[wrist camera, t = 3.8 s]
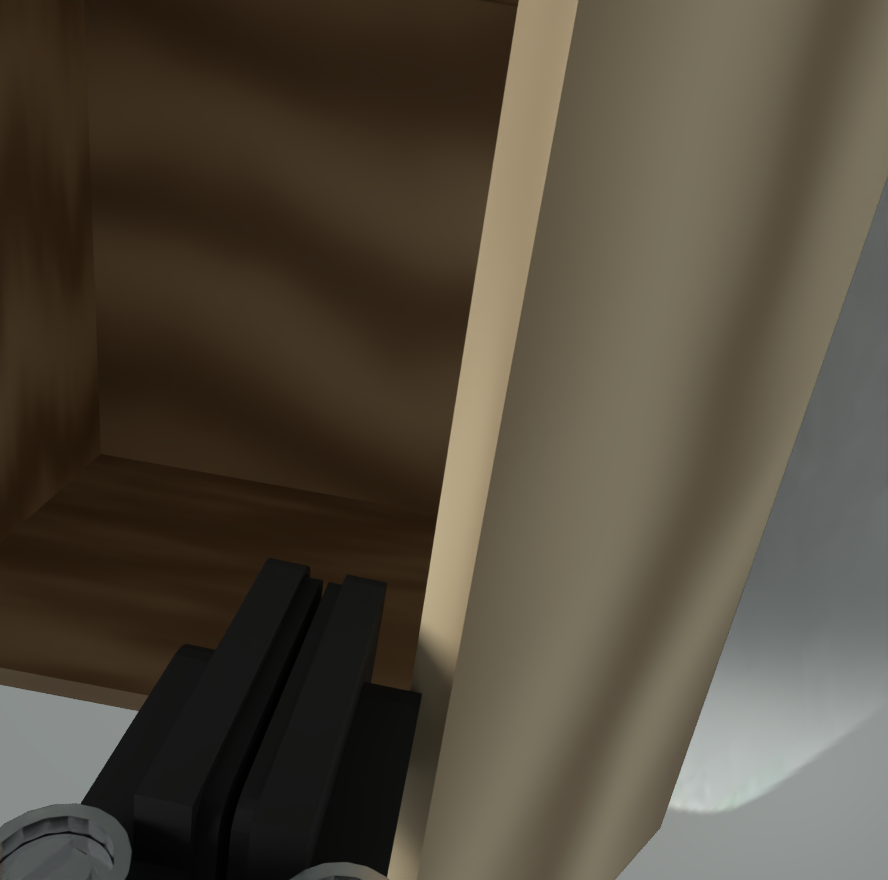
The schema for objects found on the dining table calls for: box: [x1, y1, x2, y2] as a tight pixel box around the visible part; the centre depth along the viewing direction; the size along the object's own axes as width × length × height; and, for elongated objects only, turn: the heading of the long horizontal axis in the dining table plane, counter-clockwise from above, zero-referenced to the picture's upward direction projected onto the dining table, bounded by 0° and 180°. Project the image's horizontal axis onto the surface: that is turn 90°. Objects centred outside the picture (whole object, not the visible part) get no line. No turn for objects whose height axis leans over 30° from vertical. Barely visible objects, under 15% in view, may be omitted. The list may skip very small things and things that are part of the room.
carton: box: [0, 0, 519, 711], centre depth 24 cm, size 19×21×13 cm
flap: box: [387, 0, 888, 880], centre depth 14 cm, size 10×19×1 cm
